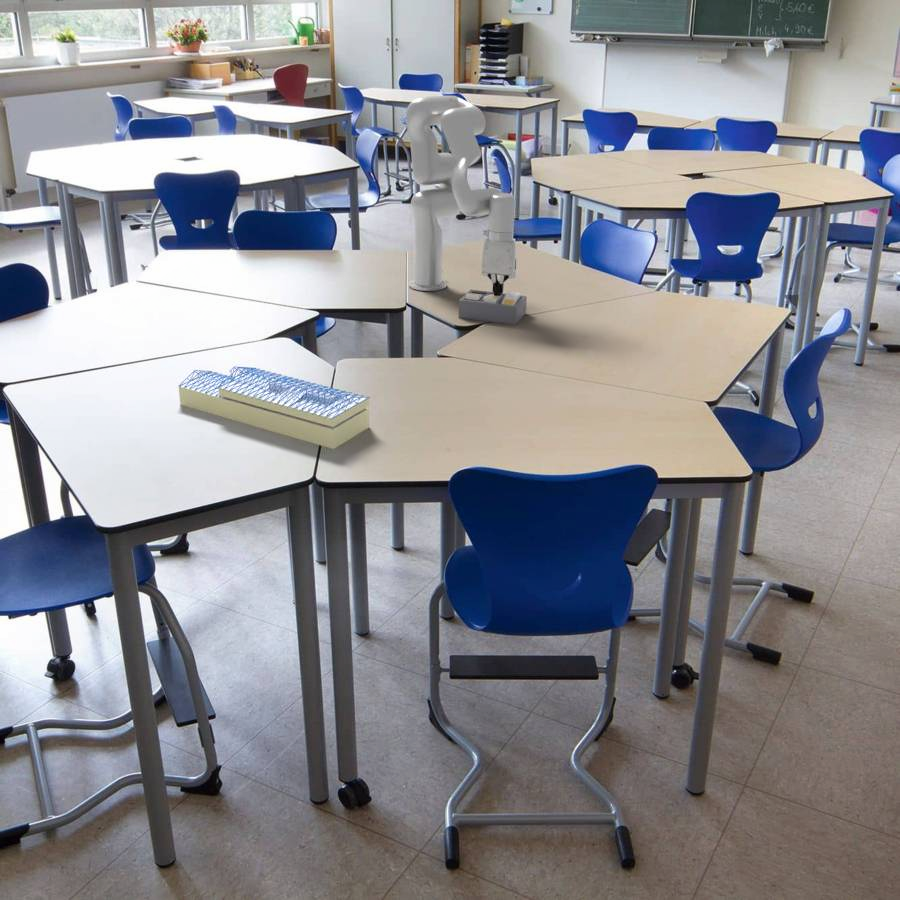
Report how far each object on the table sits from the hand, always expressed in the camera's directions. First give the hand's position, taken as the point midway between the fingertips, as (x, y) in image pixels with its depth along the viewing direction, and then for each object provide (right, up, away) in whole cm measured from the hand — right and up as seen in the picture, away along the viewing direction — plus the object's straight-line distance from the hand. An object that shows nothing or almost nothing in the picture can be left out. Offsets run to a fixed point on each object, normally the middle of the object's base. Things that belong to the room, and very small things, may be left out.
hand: (497, 294), depth 301 cm
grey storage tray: (-2, -6, -1) cm, 7 cm away
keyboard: (-56, -40, -72) cm, 100 cm away
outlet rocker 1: (-7, -1, -1) cm, 7 cm away
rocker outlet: (+4, -3, -4) cm, 6 cm away
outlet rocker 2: (-2, -2, -3) cm, 4 cm away
